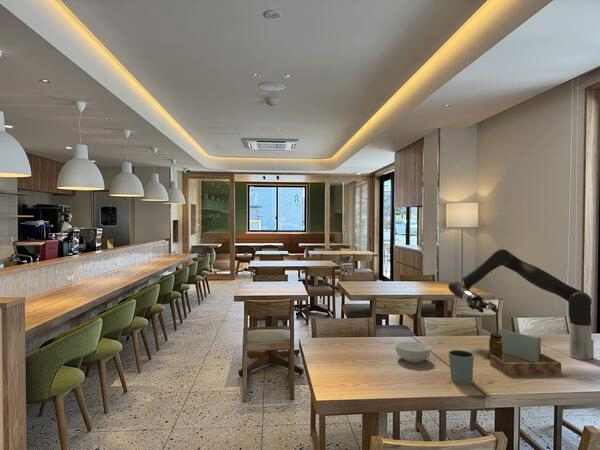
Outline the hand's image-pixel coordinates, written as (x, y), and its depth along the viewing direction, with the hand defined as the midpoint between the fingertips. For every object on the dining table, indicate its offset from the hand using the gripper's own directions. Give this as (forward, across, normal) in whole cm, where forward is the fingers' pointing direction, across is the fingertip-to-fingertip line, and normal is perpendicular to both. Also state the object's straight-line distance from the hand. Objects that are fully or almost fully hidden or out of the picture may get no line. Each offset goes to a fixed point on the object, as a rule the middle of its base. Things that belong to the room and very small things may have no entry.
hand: (490, 311), depth 208 cm
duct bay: (+25, +4, +18) cm, 31 cm away
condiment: (+10, 0, +22) cm, 24 cm away
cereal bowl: (+6, -41, +25) cm, 49 cm away
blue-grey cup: (+34, -33, +19) cm, 51 cm away
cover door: (+10, +14, +20) cm, 27 cm away
